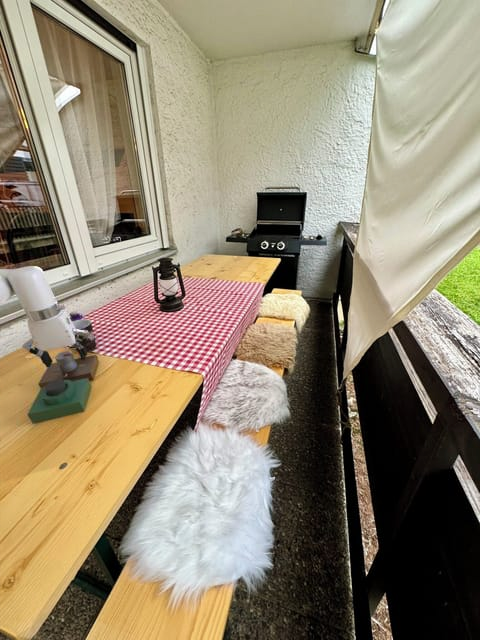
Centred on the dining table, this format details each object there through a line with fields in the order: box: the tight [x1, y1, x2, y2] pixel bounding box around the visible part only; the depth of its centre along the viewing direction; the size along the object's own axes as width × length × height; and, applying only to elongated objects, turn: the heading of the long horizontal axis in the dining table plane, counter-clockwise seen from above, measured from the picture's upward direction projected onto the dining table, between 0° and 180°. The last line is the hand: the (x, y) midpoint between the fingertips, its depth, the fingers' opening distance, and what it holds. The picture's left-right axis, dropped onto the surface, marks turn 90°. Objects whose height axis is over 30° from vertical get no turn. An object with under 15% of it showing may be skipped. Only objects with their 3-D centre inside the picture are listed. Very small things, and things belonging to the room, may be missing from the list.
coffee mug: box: [65, 318, 97, 353], centre depth 93 cm, size 12×9×10 cm
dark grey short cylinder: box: [45, 379, 67, 396], centre depth 69 cm, size 4×4×2 cm
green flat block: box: [27, 378, 93, 425], centre depth 70 cm, size 12×10×6 cm
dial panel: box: [38, 354, 100, 389], centre depth 82 cm, size 14×10×3 cm
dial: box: [54, 350, 77, 373], centre depth 80 cm, size 4×4×5 cm
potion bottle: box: [69, 310, 84, 329], centre depth 99 cm, size 9×9×12 cm
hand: (67, 361), depth 80 cm, fingers open, 9 cm apart
